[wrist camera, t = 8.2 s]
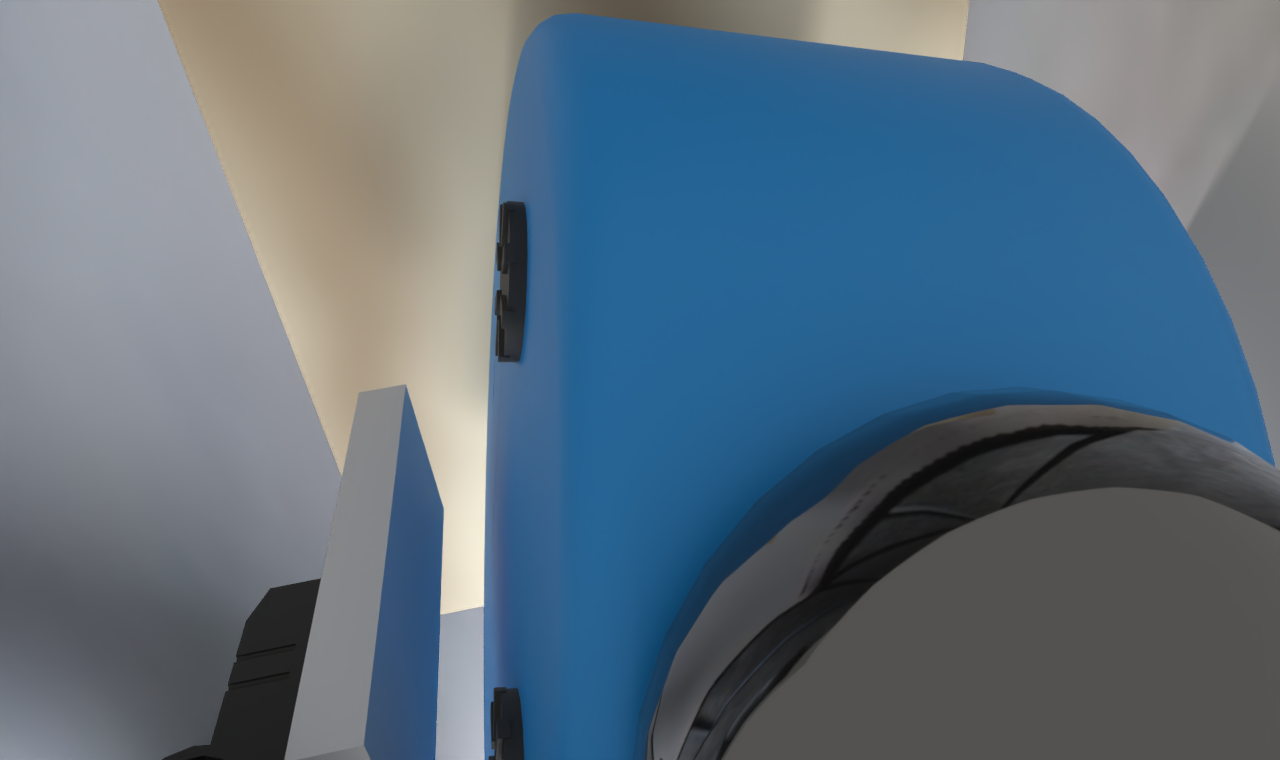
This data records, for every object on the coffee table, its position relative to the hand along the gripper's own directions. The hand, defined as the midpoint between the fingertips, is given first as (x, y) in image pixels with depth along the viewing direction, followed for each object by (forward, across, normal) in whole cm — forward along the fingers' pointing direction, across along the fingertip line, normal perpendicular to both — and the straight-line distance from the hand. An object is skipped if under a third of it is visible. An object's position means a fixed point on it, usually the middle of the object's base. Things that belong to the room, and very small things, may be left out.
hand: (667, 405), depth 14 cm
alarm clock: (+4, 0, 0) cm, 4 cm away
